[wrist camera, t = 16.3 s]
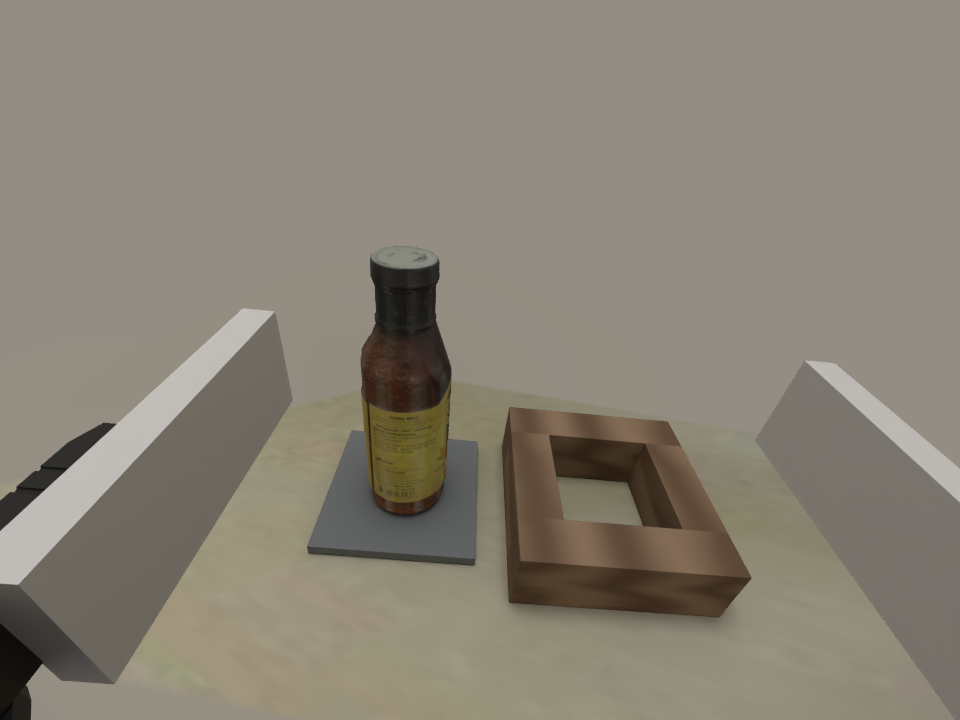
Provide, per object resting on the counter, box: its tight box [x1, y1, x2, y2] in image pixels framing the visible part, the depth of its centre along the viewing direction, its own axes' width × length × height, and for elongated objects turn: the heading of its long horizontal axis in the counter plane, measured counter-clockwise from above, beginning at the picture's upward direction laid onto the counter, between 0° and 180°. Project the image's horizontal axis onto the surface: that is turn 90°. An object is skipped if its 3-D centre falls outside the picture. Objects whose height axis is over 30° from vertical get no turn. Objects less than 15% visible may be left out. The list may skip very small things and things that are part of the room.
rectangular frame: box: [502, 407, 751, 617], centre depth 34 cm, size 15×15×5 cm
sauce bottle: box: [361, 246, 451, 515], centre depth 30 cm, size 6×6×20 cm
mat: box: [307, 431, 478, 565], centre depth 36 cm, size 12×12×1 cm
